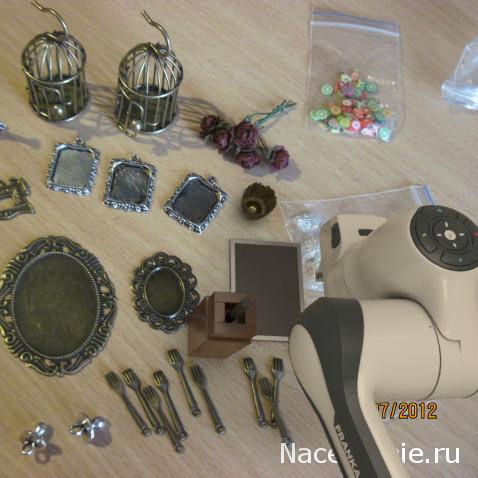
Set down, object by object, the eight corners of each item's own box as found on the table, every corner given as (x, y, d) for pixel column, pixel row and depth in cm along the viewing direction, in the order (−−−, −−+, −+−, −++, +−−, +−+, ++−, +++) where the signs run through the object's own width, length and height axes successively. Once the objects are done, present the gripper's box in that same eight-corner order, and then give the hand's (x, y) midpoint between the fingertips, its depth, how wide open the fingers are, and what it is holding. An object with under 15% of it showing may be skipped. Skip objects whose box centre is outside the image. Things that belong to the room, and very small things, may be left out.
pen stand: (226, 358, 113) (259, 338, 90) (187, 356, 112) (211, 336, 89) (225, 320, 116) (258, 290, 92) (188, 318, 115) (211, 287, 92)
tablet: (305, 343, 116) (307, 342, 115) (230, 339, 115) (231, 338, 114) (299, 244, 123) (301, 242, 122) (229, 239, 122) (230, 238, 121)
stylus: (232, 324, 95) (252, 307, 83) (223, 323, 95) (241, 307, 83) (232, 314, 96) (252, 297, 84) (223, 314, 96) (241, 297, 84)
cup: (271, 205, 126) (282, 190, 118) (260, 232, 123) (270, 219, 116) (241, 192, 126) (250, 176, 119) (229, 218, 124) (238, 204, 116)
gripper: (407, 375, 60) (352, 387, 73) (384, 205, 68) (338, 243, 80) (351, 374, 60) (306, 386, 73) (334, 202, 67) (296, 240, 80)
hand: (323, 309), depth 77 cm, fingers open, 8 cm apart
